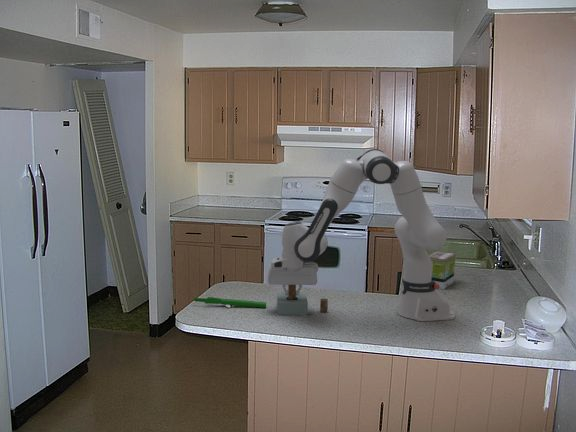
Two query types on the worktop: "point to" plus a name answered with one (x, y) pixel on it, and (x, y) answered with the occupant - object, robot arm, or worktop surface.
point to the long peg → (292, 292)
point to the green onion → (231, 302)
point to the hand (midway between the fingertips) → (292, 294)
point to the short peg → (323, 305)
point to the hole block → (292, 305)
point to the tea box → (442, 268)
